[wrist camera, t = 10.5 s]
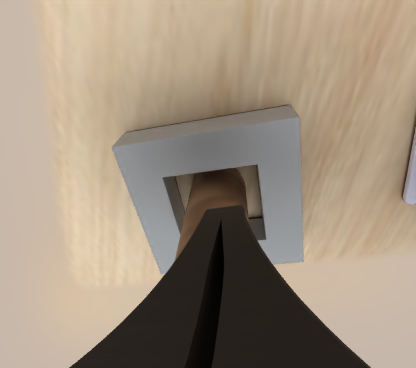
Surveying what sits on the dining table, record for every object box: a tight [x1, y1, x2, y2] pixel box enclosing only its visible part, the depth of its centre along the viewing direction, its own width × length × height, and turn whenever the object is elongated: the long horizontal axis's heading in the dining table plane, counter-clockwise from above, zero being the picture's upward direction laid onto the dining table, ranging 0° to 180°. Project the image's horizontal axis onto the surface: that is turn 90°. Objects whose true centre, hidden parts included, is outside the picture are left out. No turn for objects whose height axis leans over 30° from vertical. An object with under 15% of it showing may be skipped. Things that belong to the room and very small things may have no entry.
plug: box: [175, 168, 249, 260], centre depth 17 cm, size 4×4×8 cm
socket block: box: [112, 105, 304, 274], centre depth 20 cm, size 11×11×2 cm
